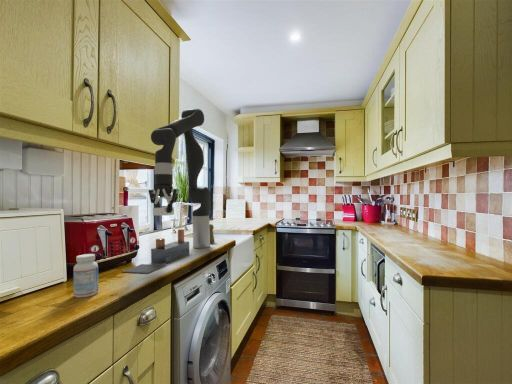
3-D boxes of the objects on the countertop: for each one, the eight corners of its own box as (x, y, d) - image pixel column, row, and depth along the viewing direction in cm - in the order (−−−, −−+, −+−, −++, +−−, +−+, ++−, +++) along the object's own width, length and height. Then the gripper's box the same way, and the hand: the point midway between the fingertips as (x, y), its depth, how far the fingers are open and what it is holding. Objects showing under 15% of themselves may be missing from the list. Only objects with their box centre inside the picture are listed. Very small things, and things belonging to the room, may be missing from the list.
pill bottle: (84, 290, 81) (83, 253, 82) (103, 291, 81) (102, 253, 81) (68, 298, 75) (67, 257, 75) (88, 298, 75) (88, 257, 75)
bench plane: (176, 253, 134) (176, 229, 134) (189, 253, 132) (188, 229, 132) (150, 263, 114) (150, 234, 114) (165, 264, 112) (165, 235, 112)
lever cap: (164, 214, 123) (164, 205, 123) (174, 214, 121) (173, 205, 121) (153, 215, 115) (153, 206, 115) (163, 215, 114) (163, 205, 114)
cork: (212, 243, 161) (212, 224, 161) (202, 243, 162) (202, 224, 162) (216, 241, 167) (215, 223, 167) (206, 241, 168) (206, 223, 168)
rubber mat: (141, 265, 111) (141, 264, 111) (165, 266, 109) (165, 265, 109) (122, 272, 101) (122, 271, 101) (147, 273, 98) (147, 272, 98)
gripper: (182, 174, 121) (183, 212, 120) (154, 175, 124) (154, 212, 123) (173, 172, 113) (173, 213, 113) (144, 173, 117) (144, 213, 116)
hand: (163, 212), depth 118 cm, fingers closed on lever cap, 5 cm apart
